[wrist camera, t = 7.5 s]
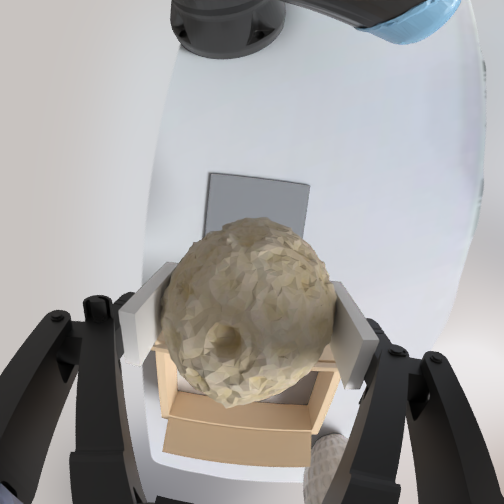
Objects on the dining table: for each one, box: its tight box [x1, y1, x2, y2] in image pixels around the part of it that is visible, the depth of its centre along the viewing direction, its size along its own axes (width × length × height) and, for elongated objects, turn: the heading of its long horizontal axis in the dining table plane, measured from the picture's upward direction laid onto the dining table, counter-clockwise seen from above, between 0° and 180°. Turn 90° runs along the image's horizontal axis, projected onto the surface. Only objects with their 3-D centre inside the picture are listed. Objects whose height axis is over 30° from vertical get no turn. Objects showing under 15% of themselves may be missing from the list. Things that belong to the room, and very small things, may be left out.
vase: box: [303, 434, 349, 504], centre depth 31 cm, size 13×13×28 cm
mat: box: [205, 174, 310, 239], centre depth 35 cm, size 12×12×1 cm
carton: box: [151, 330, 341, 467], centre depth 35 cm, size 20×24×11 cm
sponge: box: [160, 217, 337, 408], centre depth 15 cm, size 9×10×10 cm
